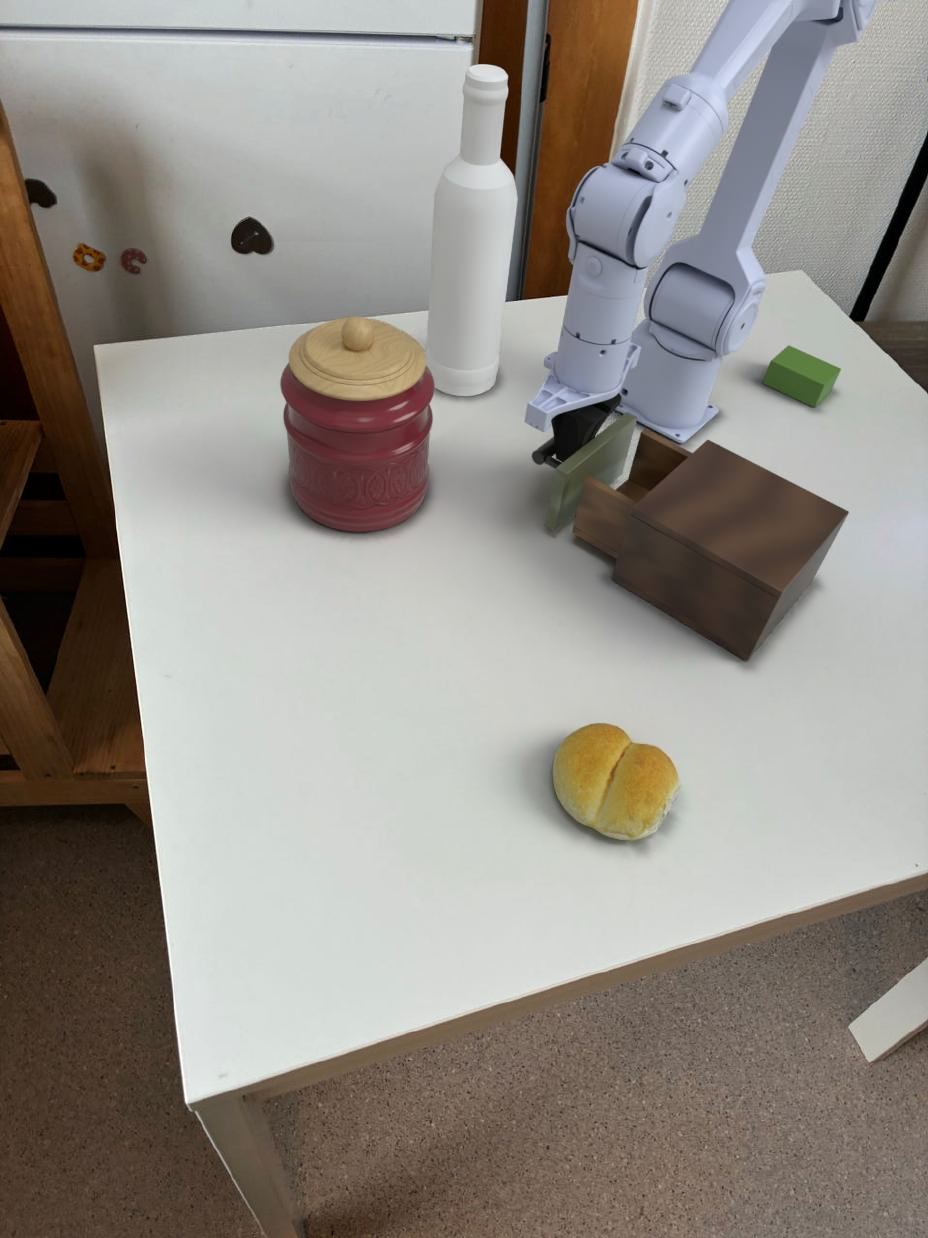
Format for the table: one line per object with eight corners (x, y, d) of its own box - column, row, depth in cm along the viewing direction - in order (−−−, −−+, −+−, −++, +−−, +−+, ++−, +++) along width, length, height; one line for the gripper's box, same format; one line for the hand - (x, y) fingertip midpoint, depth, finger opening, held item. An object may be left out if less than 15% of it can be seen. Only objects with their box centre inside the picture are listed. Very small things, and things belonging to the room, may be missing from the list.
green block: (761, 383, 102) (770, 360, 100) (779, 367, 104) (788, 344, 102) (814, 408, 100) (824, 385, 97) (831, 391, 102) (841, 368, 100)
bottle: (504, 395, 97) (545, 88, 74) (433, 400, 95) (452, 88, 72) (486, 353, 102) (519, 53, 79) (418, 357, 100) (431, 53, 77)
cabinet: (611, 579, 80) (632, 507, 73) (682, 510, 87) (707, 438, 80) (747, 662, 75) (782, 592, 68) (811, 582, 81) (849, 511, 75)
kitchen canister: (320, 551, 79) (309, 380, 66) (270, 463, 86) (251, 293, 73) (452, 513, 84) (467, 345, 70) (394, 432, 91) (397, 266, 78)
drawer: (508, 503, 84) (516, 445, 79) (577, 449, 90) (589, 391, 85) (660, 595, 78) (680, 538, 73) (723, 529, 84) (746, 473, 79)
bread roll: (580, 721, 69) (590, 690, 66) (686, 780, 67) (701, 750, 64) (526, 798, 65) (534, 768, 62) (638, 865, 62) (652, 837, 59)
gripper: (605, 278, 79) (576, 409, 89) (504, 338, 70) (485, 475, 80) (674, 310, 76) (636, 441, 86) (578, 376, 68) (549, 512, 78)
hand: (567, 460), depth 83 cm, fingers closed, pressing on drawer
